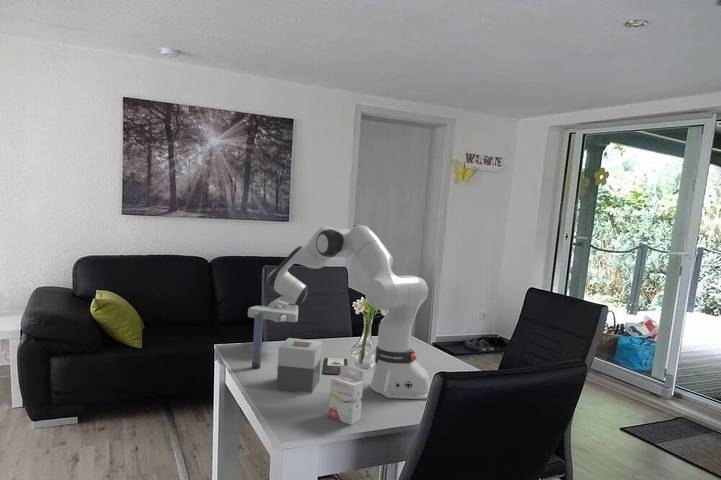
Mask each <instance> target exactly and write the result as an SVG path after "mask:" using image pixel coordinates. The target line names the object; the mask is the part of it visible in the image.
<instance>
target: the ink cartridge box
mask: <svg viewBox="0 0 721 480" xmlns="http://www.w3.org/2000/svg"><path fill="white" fill-rule="evenodd" d="M351 371H352V372H353V373H351ZM363 377H364V372H363V370H361V369H359V368H355V367H351V366H349V365H347V366H345V365H341V366H340V374H339V375H334V376H332V377H331V379H330V387H329V388H330V389H329V400H328V413H327V414H328V416H327V417H329V418H332V419H334V420H337V421H340V422H343V423H345V424H348V425H351V426H352V425H354V424H355V423H357V422H359V421H360V420H361V414H362V401H363V400H362V399H363V390H364V389H363V387H364V379H363Z"/></svg>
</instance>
